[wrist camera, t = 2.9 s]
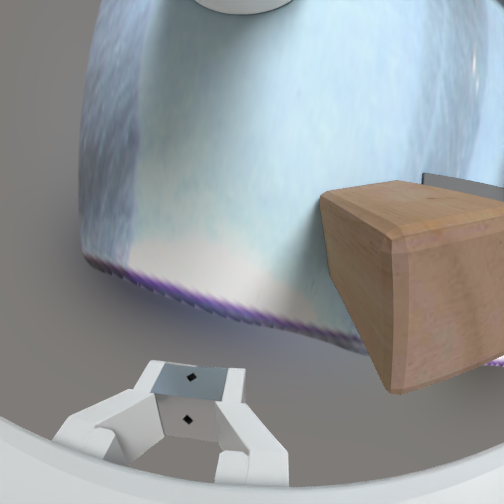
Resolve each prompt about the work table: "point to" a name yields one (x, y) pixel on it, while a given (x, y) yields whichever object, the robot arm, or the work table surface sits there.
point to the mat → (464, 186)
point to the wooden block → (418, 277)
